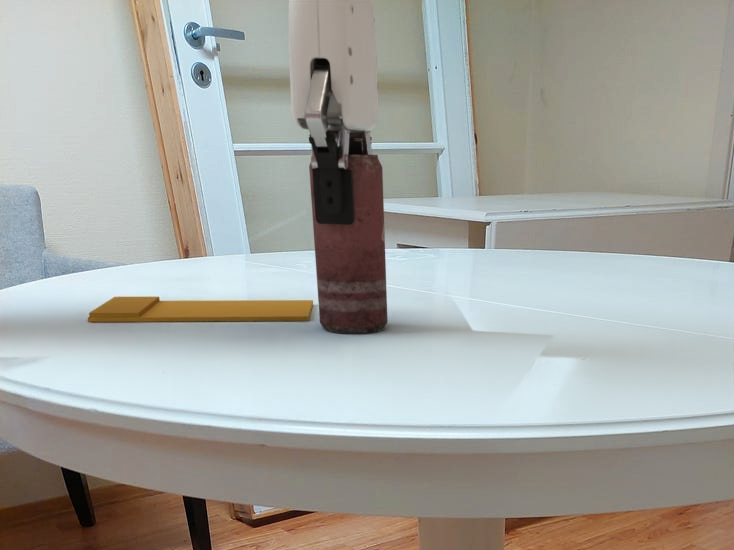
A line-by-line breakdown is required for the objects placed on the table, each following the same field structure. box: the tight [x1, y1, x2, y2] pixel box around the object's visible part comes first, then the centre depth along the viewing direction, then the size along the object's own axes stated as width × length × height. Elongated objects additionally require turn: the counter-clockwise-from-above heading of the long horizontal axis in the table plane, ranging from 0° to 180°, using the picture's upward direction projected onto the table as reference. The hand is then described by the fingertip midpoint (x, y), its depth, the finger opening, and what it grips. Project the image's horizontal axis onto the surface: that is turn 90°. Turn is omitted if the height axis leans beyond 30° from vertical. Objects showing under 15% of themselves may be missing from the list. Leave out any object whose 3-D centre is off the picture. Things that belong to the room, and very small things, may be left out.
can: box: [308, 154, 388, 335], centre depth 77 cm, size 6×6×14 cm
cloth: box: [87, 296, 314, 323], centre depth 87 cm, size 20×10×1 cm, turn 97°
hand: (346, 218), depth 76 cm, fingers closed on can, 6 cm apart
